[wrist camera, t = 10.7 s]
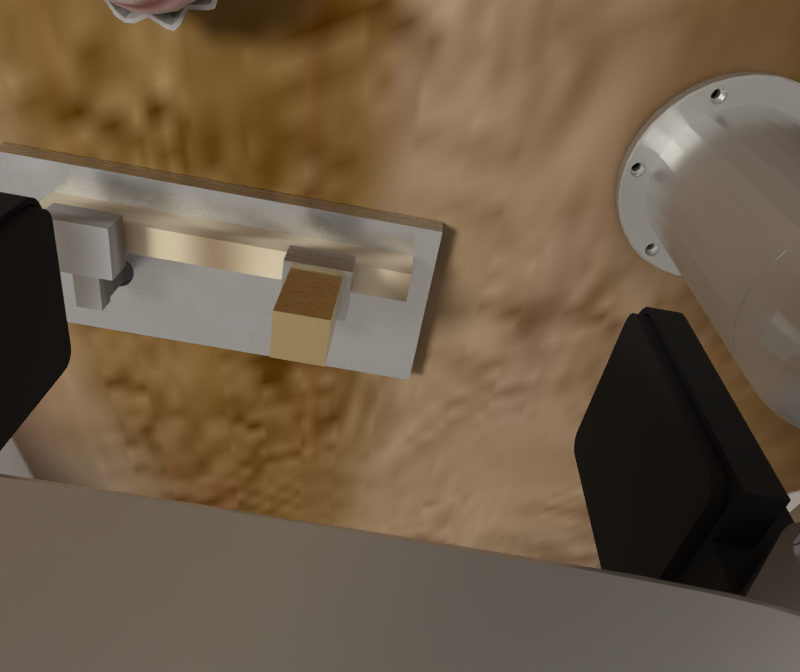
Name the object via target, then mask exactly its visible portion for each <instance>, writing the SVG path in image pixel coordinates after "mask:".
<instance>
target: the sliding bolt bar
mask: <svg viewBox="0 0 800 672" xmlns="http://www.w3.org/2000/svg"><path fill="white" fill-rule="evenodd" d="M39 203H40V205H41V207H42V209H47V210H48V211H49V212H50V214H51V216H52V220H53V226H54V233H55V240H56V247H57V254H58V261H59V268H60V272H65V273H71V274H73V282H74V290H75V297H76V305H77V307H82V308H88V309H94V310H100V311H103V310H104V308H105V307H106V306H107V305H108V303H109V302H110V297H111V296H112V294H113V293H114V292H115V291H116V290H117V288H118V287H119V286H120V285H121V284H122V282H123V281H124V269H123V268H124V267H125V266H126V256H125V253H131V254H137V255H142V256H148V257H154V258H159V259H165V260H171V261H176V262H182V263H188V264H194V265H199V266H205V267H211V268H216V269H222V270H228V271H233V272H239V273H245V274H250V275H256V276H262V277H267V278H273V279H279V280H282V272H283V260H284V258H285V255H286V253H287V251H288V249H289V246H290V245H294V246H300V247H306V248H311V249H317V250H322V251H328V252H334V253H339V254H345V255H350V256H356V262H355V269H354V276H353V282H352V289H351V292H353V293H358V294H364V295H370V296H375V297H381V298H387V299H392V300H398V301H404V302H406V301H407V296H408V291H409V286H410V281H411V276H412V267H413V256H411V255H406V254H400V253H394V252H389V251H383V250H378V249H372V248H367V247H361V246H356V245H350V244H344V243H339V242H333V241H328V240H322V239H317V238H311V237H305V236H300V235H294V234H289V233H283V232H278V231H272V230H266V229H261V228H255V227H250V226H244V225H239V224H233V223H227V222H222V221H216V220H211V219H205V218H200V217H194V216H188V215H183V214H177V213H172V212H166V211H161V210H155V209H149V208H144V207H138V206H133V205H127V204H122V203H116V202H110V201H105V200H99V199H94V198H88V197H83V196H77V195H71V194H66V193H60V192H55V191H53V192H52V193H50V194H49V195H48V196H46V197H45V198H44V199H42V200H41V201H40V202H39Z"/></svg>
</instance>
